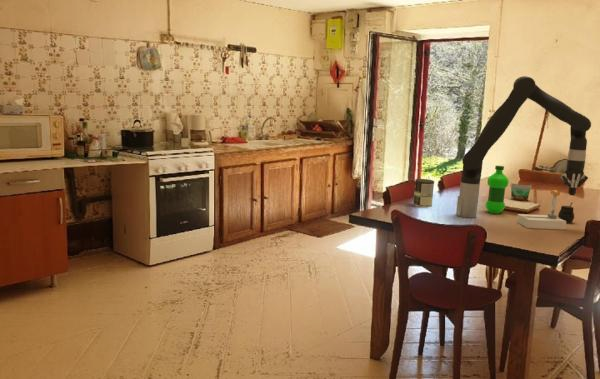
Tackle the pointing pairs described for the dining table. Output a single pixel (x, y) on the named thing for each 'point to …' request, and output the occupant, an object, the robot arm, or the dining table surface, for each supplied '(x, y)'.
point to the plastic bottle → (497, 191)
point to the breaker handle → (553, 203)
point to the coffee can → (423, 192)
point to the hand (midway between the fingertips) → (571, 195)
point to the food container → (520, 192)
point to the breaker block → (541, 221)
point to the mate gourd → (566, 213)
